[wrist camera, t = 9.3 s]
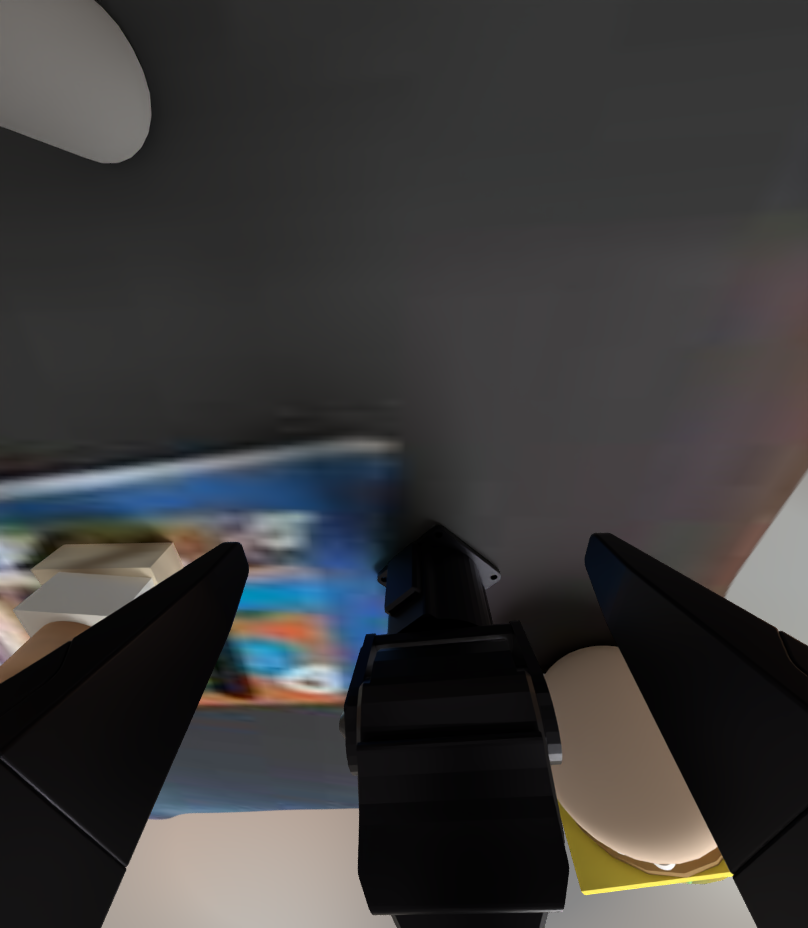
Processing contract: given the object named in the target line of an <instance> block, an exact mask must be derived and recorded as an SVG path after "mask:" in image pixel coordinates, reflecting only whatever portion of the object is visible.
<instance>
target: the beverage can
mask: <svg viewBox="0 0 808 928" xmlns="http://www.w3.org/2000/svg"><path fill="white" fill-rule="evenodd" d="M150 121H151V101H150V92H149V89H148V86H147V82H146V79H145V76H144V72H143V70H142V68H141V65H140V63H139V61H138V59H137V57H136V55H135V53H134V50H133V48H132V47H131V45H130V43H129V42H128V40H127V39H126V37H125V35H124V34H123V32H122V31H121V29H120V27H119V26H118V25H117V23H116V22H115V21H114V20H113V19H112V18H111V17H110V16H109V14H108V13H107V12H106V11H105V10H104V9H103V8H102V7H101V6H100V5H99V4H98V3H97V2H96V1H94V0H0V126H1V127H4V128H7V129H9V130H12V131H15V132H17V133H20V134H23V135H25V136H28V137H31V138H33V139H36V140H39V141H42V142H44V143H47V144H50V145H52V146H55V147H58V148H60V149H63V150H66V151H68V152H71V153H74V154H76V155H79V156H82V157H84V158H87V159H90V160H94V161H97V162H100V163H119V162H122V161H124V160H127V159H129V158H131V157H132V156H133V155H134V154H135V153H136V152H137V151H139V150H140V149H141V147H142V145H143V143H144V141H145V139H146V137H147V135H148V133H149V127H150Z"/></svg>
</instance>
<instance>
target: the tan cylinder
mask: <svg viewBox="0 0 808 928" xmlns="http://www.w3.org/2000/svg"><path fill="white" fill-rule="evenodd" d="M90 627H91V626H88V625H85V624H81V623H77V622H70V621H56V622H51V623H48V624H46V625H44V626H43V627H42V628H41V629H40V630H38V631H37V632H36V633H35V634H34V635H33V636H32V637H31V638H30V639H29V640H28V641H27V642H26V643H25V644H24V645H23V646H22V647H20V648H19V649H18V650H17V651H16V652H15V653H14V654H13V655H12V656H11V657H10V658H9V659H8V660H7V661H6V662H5V663H3V664H2V665H1V666H0V683H2V682H3V681H5V680H7V679H8V678H10V677H12V676H14V675H15V674H17V673H18V672H20V671H22V670H23V669H25V668H27V667H28V666H30V665H31V664H33V663H35V662H36V661H38V660H39V659H41V658H43V657H44V656H46V655H47V654H49V653H51V652H52V651H54V650H55V649H57V648H58V647H60V646H61V645H63V644H65V643H66V642H68V641H72V640H73V638H74V637H76V636H77V635H79V634H80V633H82V632H83V631H85V630H87V629H88V628H90Z"/></svg>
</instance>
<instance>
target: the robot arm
mask: <svg viewBox="0 0 808 928" xmlns="http://www.w3.org/2000/svg"><path fill="white" fill-rule="evenodd" d="M437 532H440V533H441V534H436V533H437ZM585 567H586V570H587V572H588V575H589V578H590V580H591V583H592V586H593V588H594V591H595V594H596V597H597V599H598V602H599V605H600V607H601V610H602V613H603V615H604V618H605V620H606V623H607V625H608V627H609V629H610V632H611V634H612V636H613V638H614V640H615V642H616V644H617V646H618V648H619V650H620V652H621V654H622V656H623V658H624V660H625V662H626V664H627V666H628V668H629V670H630V672H631V674H632V676H633V678H634V680H635V682H636V684H637V686H638V688H639V690H640V692H641V694H642V696H643V698H644V700H645V702H646V704H647V706H648V708H649V710H650V712H651V714H652V716H653V718H654V720H655V722H656V724H657V726H658V728H659V730H660V732H661V734H662V736H663V738H664V740H665V742H666V744H667V746H668V748H669V750H670V752H671V754H672V756H673V758H674V760H675V762H676V764H677V766H678V768H679V770H680V772H681V774H682V776H683V778H684V780H685V782H686V784H687V786H688V788H689V790H690V792H691V794H692V796H693V798H694V800H695V802H696V804H697V806H698V808H699V811H700V813H701V815H702V817H703V819H704V821H705V823H706V825H707V827H708V829H709V831H710V833H711V835H712V837H713V839H714V841H715V843H716V845H717V847H718V849H719V851H720V853H721V855H722V857H723V859H724V861H725V863H726V865H727V867H728V869H729V871H730V872H731V874H733V879H734V881H735V884H736V886H737V888H738V890H739V892H740V894H741V896H742V897H743V900H744V902H745V904H746V906H747V908H748V910H749V912H750V913H751V916H752V918H753V920H754V922H755V924H756V926H757V928H808V646H807V645H806V644H803V643H802V642H800V641H799V640H797V639H795V638H793V637H792V636H790V635H788V634H786V633H785V632H783V631H778V629H777V628H776V627H774V626H772V625H770V624H769V623H767V622H765V621H763V620H762V619H760V618H757V617H756V616H755V615H753V614H751V613H749V612H748V611H746V610H744V609H742V608H741V607H739V606H737V605H735V604H733V603H732V602H730V601H728V600H727V599H725V598H723V597H721V596H720V595H718V594H716V593H714V592H713V591H711V590H709V589H707V588H706V587H704V586H702V585H700V584H699V583H697V582H695V581H693V580H692V579H690V578H688V577H686V576H685V575H683V574H681V573H679V572H678V571H676V570H674V569H672V568H671V567H669V566H667V565H665V564H664V563H662V562H660V561H658V560H657V559H655V558H653V557H651V556H650V555H648V554H646V553H644V552H642V551H641V550H639V549H637V548H635V547H634V546H632V545H630V544H628V543H627V542H625V541H623V540H621V539H620V538H618V537H616V536H614V535H613V534H611V533H594V534H592V535H591V536H590V539H589V543H588V547H587V551H586V555H585ZM248 573H249V565H248V562H247V559H246V556H245V553H244V550H243V547H242V545H241V544H240V543H239V542H224V543H221V544H220V545H218V546H217V547H215V548H214V549H212V550H210V551H209V552H207V553H206V554H204V555H203V556H201V557H199V558H198V559H196V560H195V561H193V562H192V563H190V564H188V565H187V566H185V567H184V568H182V569H181V570H179V571H178V572H176V573H174V574H173V575H171V576H170V577H168V578H167V579H165V580H163V581H162V582H160V583H159V584H157V585H156V586H154V587H152V588H151V589H149V590H148V591H146V592H145V593H143V594H141V595H140V596H138V597H137V598H135V599H134V600H132V601H130V602H129V603H127V604H126V605H124V606H123V607H121V608H120V609H118V610H116V611H115V612H113V613H112V614H110V615H109V616H107V617H105V618H104V619H102V620H101V621H99V622H98V623H96V624H94V625H93V626H91V627H90V628H88V629H87V630H85V631H83V632H82V633H80V634H79V635H77V636H76V637H74V638H73V640H72V641H68V642H66V643H65V644H63V645H61V646H60V647H58V648H57V649H55V650H54V651H52V652H51V653H49V654H47V655H46V656H44V657H43V658H41V659H39V660H38V661H36V662H35V663H33V664H31V665H30V666H28V667H27V668H25V669H23V670H22V671H20V672H18V673H17V674H15V675H14V676H12V677H10V678H8V679H7V680H5V681H3V682H2V683H0V928H101V927H102V924H103V922H104V920H105V917H106V915H107V913H108V911H109V908H110V906H111V904H112V902H113V899H114V897H115V894H116V892H117V890H118V888H119V885H120V883H121V881H122V878H123V876H124V874H125V872H126V868H125V867H127V866H128V864H129V862H130V859H131V857H132V855H133V852H134V850H135V848H136V846H137V843H138V841H139V839H140V837H141V834H142V832H143V830H144V827H145V825H146V823H147V821H148V818H149V816H150V814H151V811H152V809H153V807H154V804H155V802H156V800H157V798H158V795H159V793H160V791H161V788H162V786H163V784H164V782H165V779H166V777H167V775H168V772H169V770H170V768H171V765H172V763H173V761H174V759H175V756H176V754H177V752H178V749H179V747H180V745H181V743H182V740H183V738H184V736H185V733H186V731H187V729H188V727H189V724H190V722H191V720H192V717H193V715H194V713H195V710H196V708H197V706H198V704H199V701H200V699H201V697H202V694H203V692H204V690H205V688H206V685H207V683H208V681H209V678H210V676H211V674H212V671H213V669H214V667H215V665H216V662H217V660H218V658H219V655H220V653H221V651H222V649H223V646H224V644H225V642H226V639H227V637H228V635H229V632H230V630H231V627H232V624H233V621H234V618H235V615H236V612H237V609H238V605H239V602H240V599H241V596H242V593H243V590H244V587H245V583H246V580H247V577H248ZM491 575H494V576H491ZM383 577H386V578H383ZM500 579H501V574H500V571H499V570H498V569H497V568H496V567H494V566H493V565H492V564H491V563H489V562H488V561H487V560H485V559H484V558H483V557H482V556H480V555H479V554H478V553H476V552H475V551H474V550H473V549H471V548H470V547H469V546H467V545H466V544H465V543H464V542H462V541H461V540H460V539H458V538H457V537H456V536H455V535H453V534H452V533H451V532H449V531H448V530H447V529H446V528H444V527H443V526H439V525H438V526H434V527H433V528H431V529H430V530H429V531H428V532H427V533H426V534H424V535H423V536H422V537H421V538H420V539H418V540H417V541H416V542H414V543H411V544H410V545H409V546H407V547H406V548H405V549H404V550H403V551H401V552H400V553H399V554H398V555H397V556H395V557H394V558H393V559H392V560H391V561H390V562H389V563H388V565H387V566H386V567H385V568H384V569H382V570H381V571H380V572H379V573H378V579H377V580H378V582H379V583H380V584H382V585H383V586H385V587H386V595H385V613H387V614H389V618H388V633H387V634H383V635H376V634H366V636H365V640H364V643H363V646H362V647H361V649H360V653H359V656H358V659H357V663H356V666H355V670H354V673H353V676H352V680H351V683H350V686H349V690H348V693H347V697H346V700H345V704H344V712H343V714H342V716H341V718H340V723H339V729H340V732H341V734H342V735H343V737H344V738H345V739H346V754H347V760H348V766H349V769H350V772H351V773H352V774H353V775H358V794H359V845H358V875H359V879H360V882H361V885H362V888H363V892H364V895H365V898H366V901H367V904H368V907H369V910H370V912H371V913H372V915H391V916H392V918H393V920H394V922H395V925H396V927H397V928H544V927H545V923H546V919H547V915H548V912H562V911H563V909H564V905H565V899H566V891H567V884H568V876H569V864H568V858H567V854H566V850H565V846H564V843H565V840H564V832H563V826H562V821H561V816H560V811H559V806H558V801H557V795H556V790H555V785H554V780H553V775H552V770H551V765H561V763H562V746H561V739H560V733H559V728H558V723H557V718H556V714H555V710H554V706H553V702H552V699H551V695H550V692H549V689H548V686H547V683H546V680H545V678H544V675H543V673H542V670H541V668H540V666H539V664H538V661H537V659H536V657H535V655H534V652H533V650H532V648H531V646H530V643H529V641H528V639H527V636H526V634H525V632H524V630H523V627H522V625H521V623H520V621H510V622H509V623H507V624H495V625H493V621H492V617H491V613H490V609H489V604H488V600H487V596H486V592H485V590H486V589H488V588H489V587H490V586H492V585H493V584H495V583H496V582H498V581H499V580H500Z"/></svg>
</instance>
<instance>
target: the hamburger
mask: <svg viewBox="0 0 808 928" xmlns="http://www.w3.org/2000/svg"><path fill="white" fill-rule="evenodd" d="M543 675H544V678H545V680H546V683H547V686H548V689H549V692H550V695H551V699H552V702H553V706H554V710H555V714H556V718H557V723H558V728H559V733H560V739H561V746H562V763H561V765H551V770H552V775H553V780H554V785H555V790H556V795H557V801H558V806H559V811H560V816H561V820H562V824H563V827H564V831H565V834H566V838H567V841H568V845H569V848H570V852H571V856H572V859H573V863H574V866H575V870H576V874H577V878H578V881H579V885H580V888H581V891H582V893H583V894H584V895H589V894H597V893H604V892H612V891H620V890H628V889H636V888H643V887H651V886H660V885H667V884H675V883H685V884H686V883H688V884H707V883H711V882H716V881H721V880H723V879H725V878H727V877H730V876H733V874H731V872H730V871H729V869H728V867H727V865H726V863H725V861H724V859H723V857H722V855H721V853H720V851H719V849H718V847H717V845H716V843H715V841H714V839H713V837H712V835H711V833H710V831H709V829H708V827H707V825H706V823H705V821H704V819H703V817H702V815H701V813H700V811H699V808H698V806H697V804H696V802H695V800H694V798H693V796H692V794H691V792H690V790H689V788H688V786H687V784H686V782H685V780H684V778H683V776H682V774H681V772H680V770H679V768H678V766H677V764H676V762H675V760H674V758H673V756H672V754H671V752H670V750H669V748H668V746H667V744H666V742H665V740H664V738H663V736H662V734H661V732H660V730H659V728H658V726H657V724H656V722H655V720H654V718H653V716H652V714H651V712H650V710H649V708H648V706H647V704H646V702H645V700H644V698H643V696H642V694H641V692H640V690H639V688H638V686H637V684H636V682H635V680H634V678H633V676H632V674H631V672H630V670H629V668H628V666H627V664H626V662H625V660H624V658H623V656H622V654H621V652H620V650H619V648H618V647H615V646H592V647H587V648H582V649H579V650H576V651H574V652H571V653H569V654H567V655H566V656H564V657H562V658H561V659H559V660H558V661H557V662H556V663H555V664H554V665H553V666H551V667H550V668H549V670H548V671H547V672H546V674H543Z"/></svg>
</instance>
